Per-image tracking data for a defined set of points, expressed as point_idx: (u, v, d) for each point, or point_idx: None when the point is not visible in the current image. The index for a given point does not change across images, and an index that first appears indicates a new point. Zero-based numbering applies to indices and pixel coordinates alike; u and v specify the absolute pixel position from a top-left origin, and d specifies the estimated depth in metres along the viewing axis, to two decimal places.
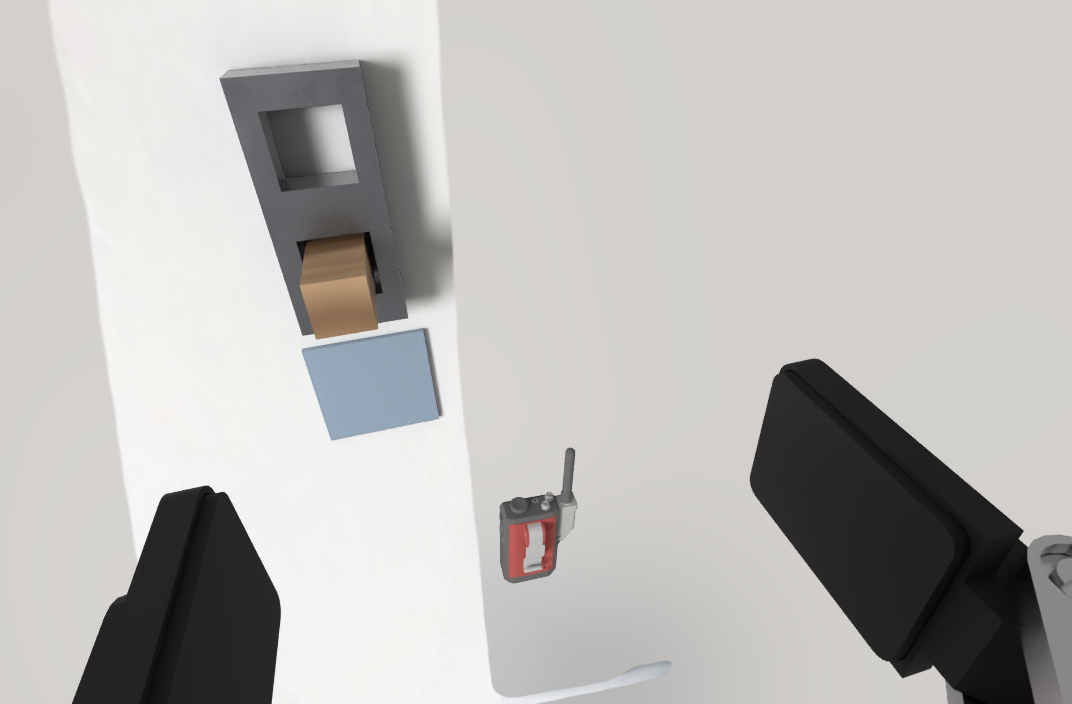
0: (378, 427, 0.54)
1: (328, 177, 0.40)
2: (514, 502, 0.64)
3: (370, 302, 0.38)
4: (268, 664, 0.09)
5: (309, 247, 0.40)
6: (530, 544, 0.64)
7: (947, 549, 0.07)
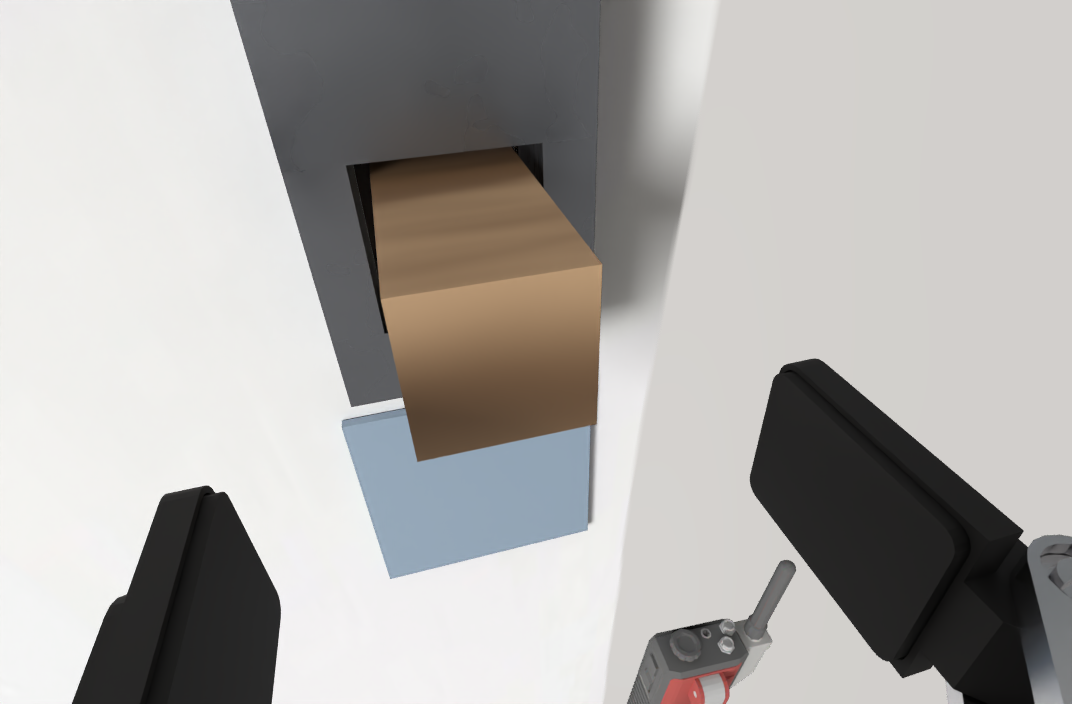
0: (478, 551, 0.28)
1: None
2: (678, 639, 0.39)
3: (595, 350, 0.12)
4: (268, 664, 0.09)
5: (382, 183, 0.14)
6: None
7: (947, 549, 0.07)
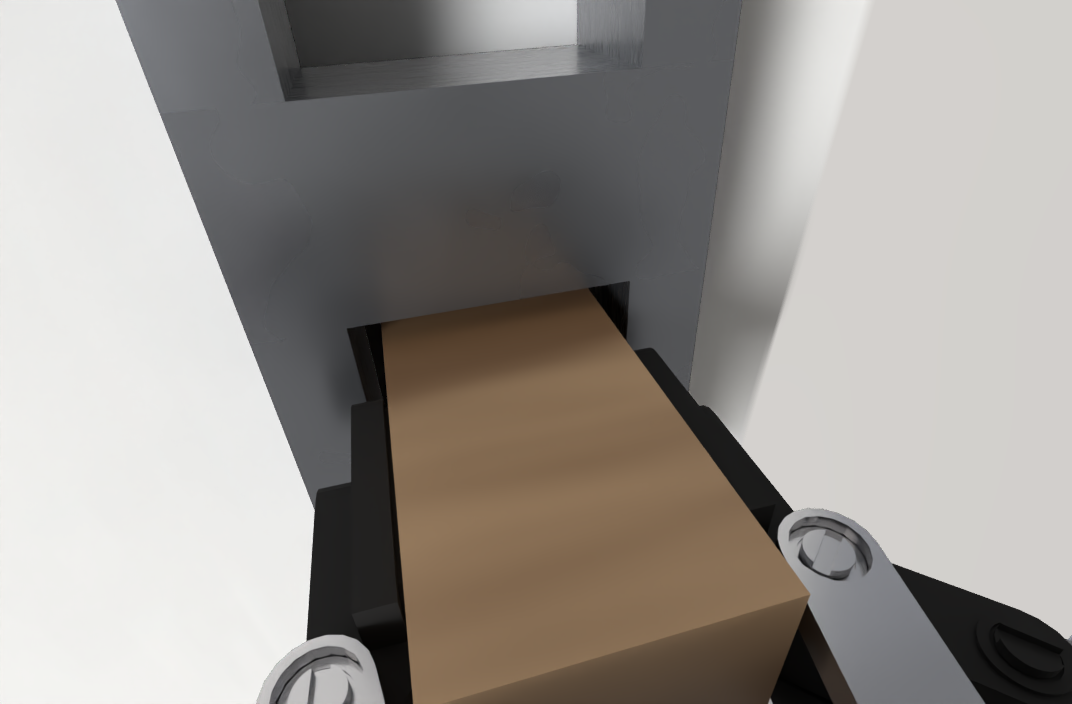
0: None
1: (480, 60, 0.10)
2: None
3: (767, 689, 0.07)
4: None
5: (400, 351, 0.10)
6: None
7: None
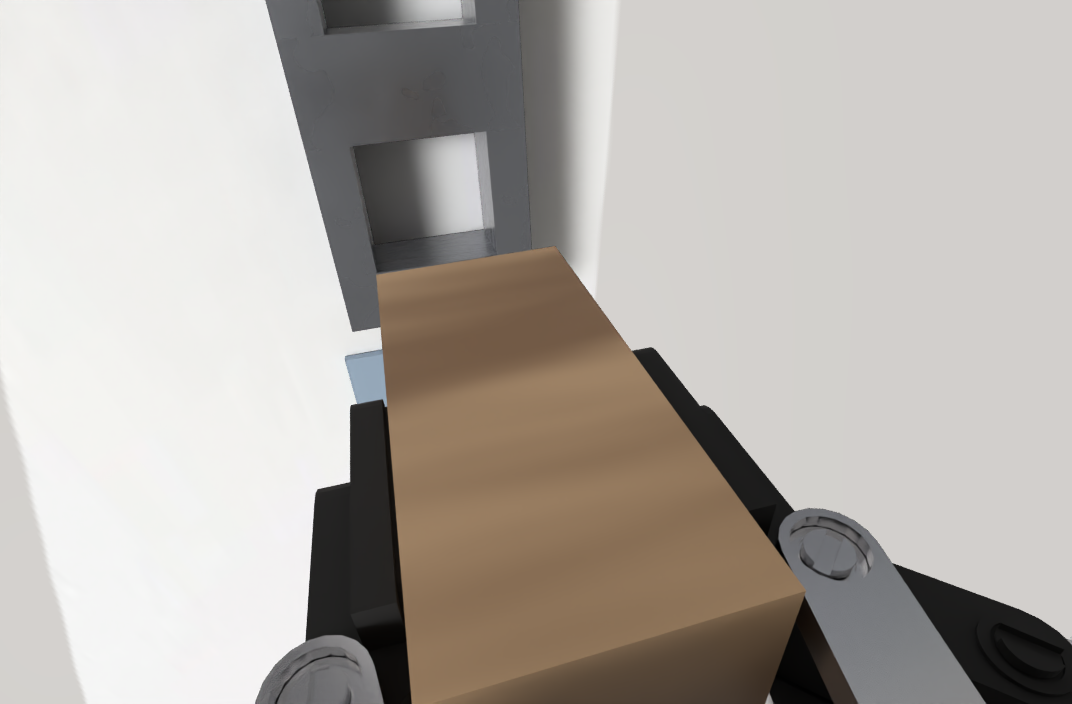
0: None
1: (411, 24, 0.21)
2: None
3: (765, 686, 0.07)
4: None
5: (400, 352, 0.10)
6: None
7: None
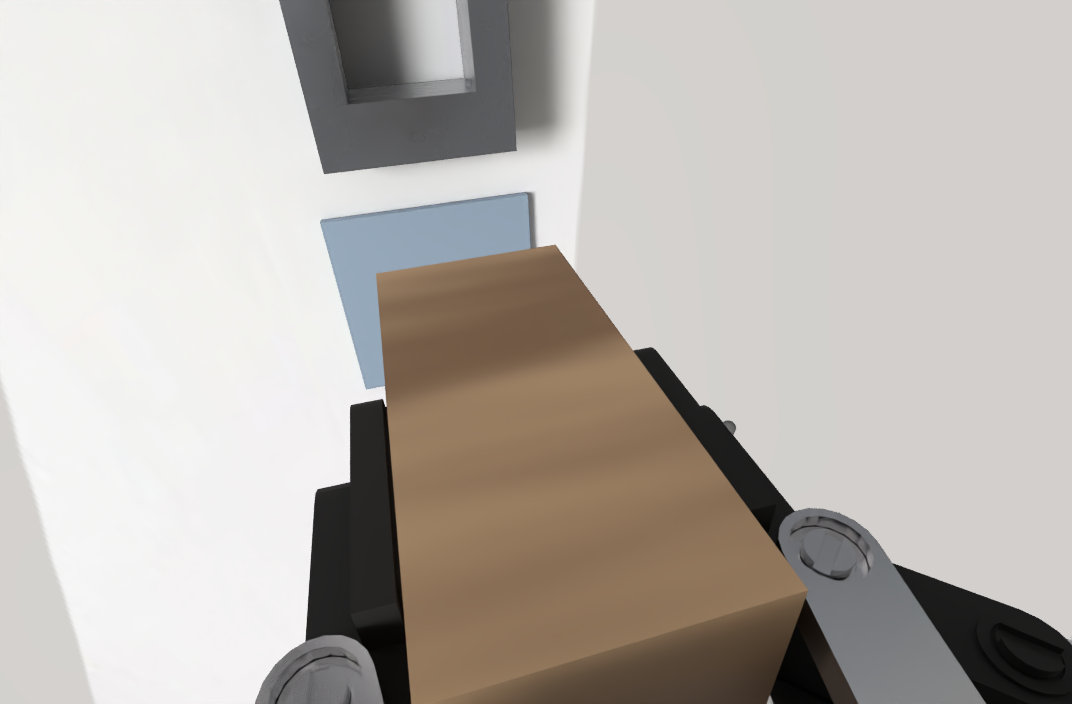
0: None
1: None
2: None
3: (767, 686, 0.07)
4: None
5: (399, 351, 0.10)
6: None
7: None
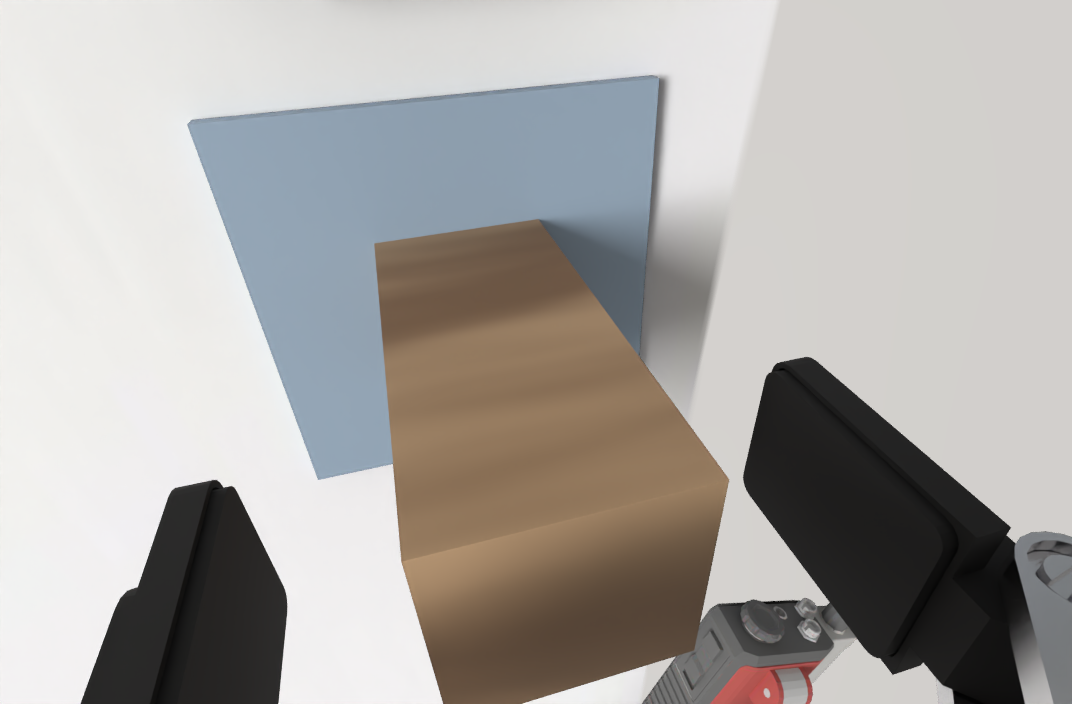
0: None
1: None
2: (753, 612, 0.28)
3: (704, 575, 0.08)
4: (275, 657, 0.09)
5: (394, 306, 0.11)
6: None
7: (935, 546, 0.07)
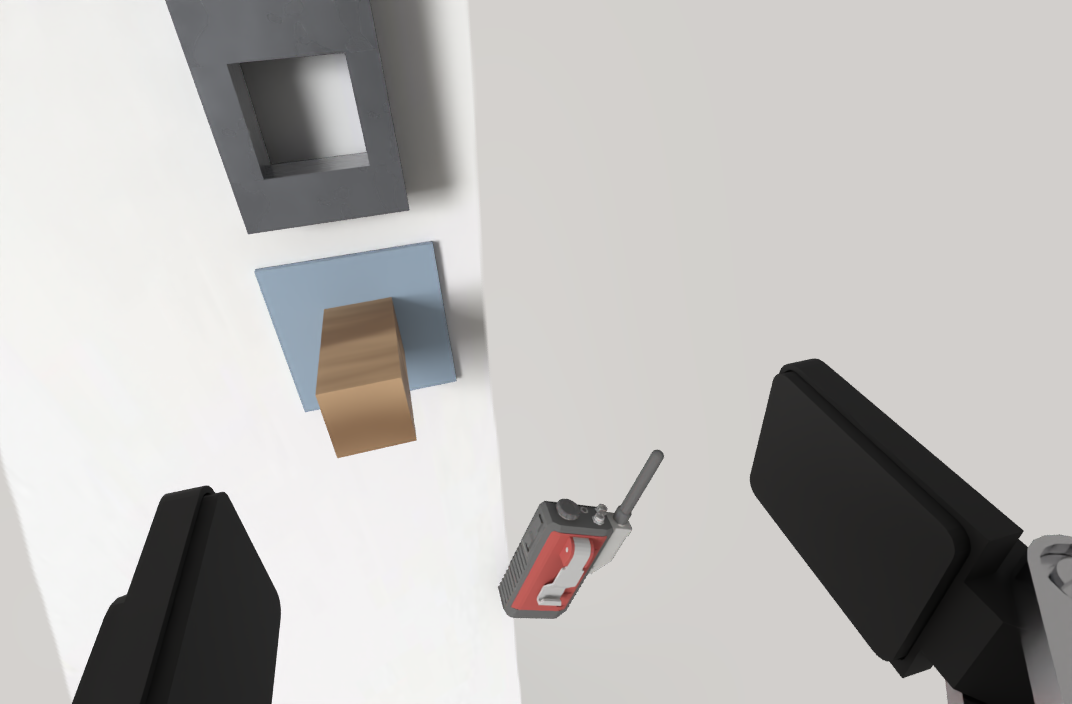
0: None
1: None
2: (563, 503, 0.48)
3: (407, 409, 0.29)
4: (268, 664, 0.09)
5: (326, 334, 0.32)
6: (569, 565, 0.47)
7: (947, 549, 0.07)
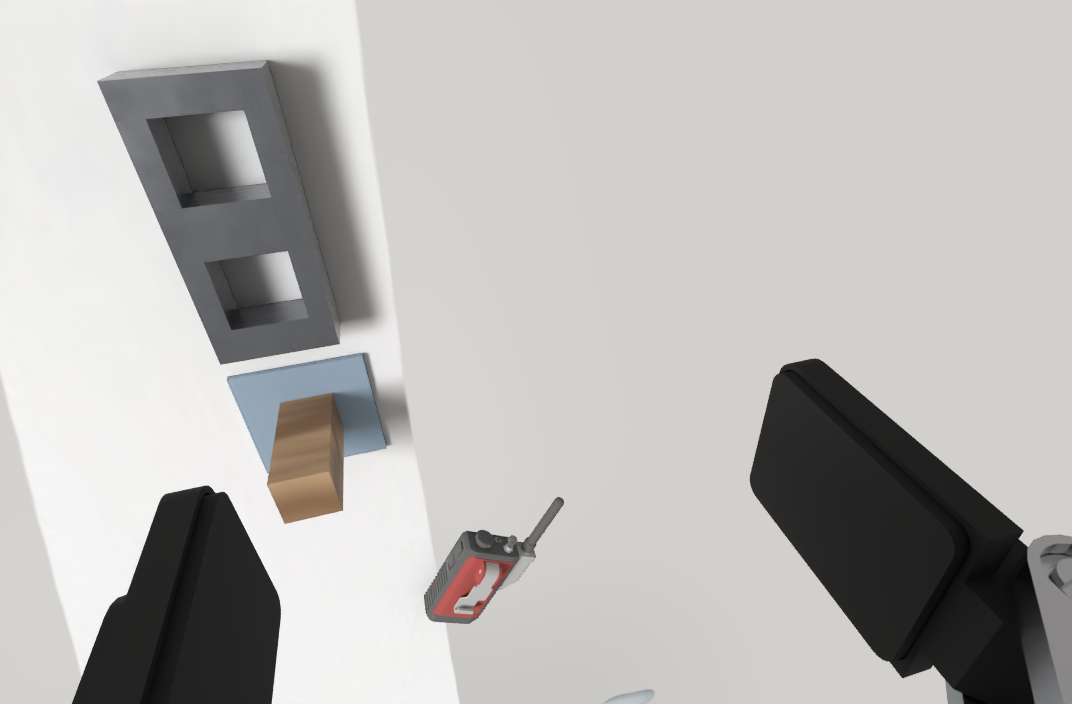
0: None
1: (240, 190, 0.36)
2: (481, 534, 0.60)
3: (334, 491, 0.40)
4: (268, 664, 0.09)
5: (279, 427, 0.43)
6: (481, 583, 0.59)
7: (947, 549, 0.07)
